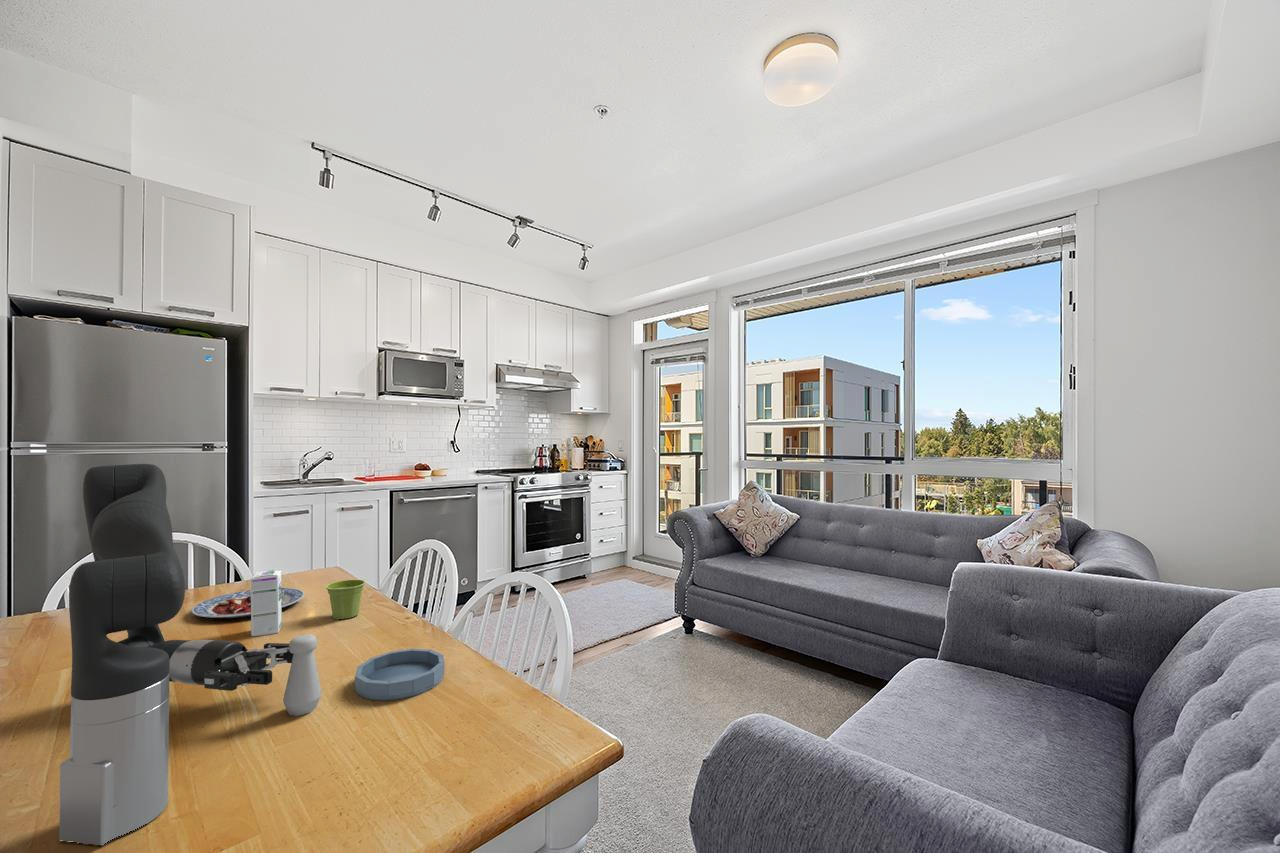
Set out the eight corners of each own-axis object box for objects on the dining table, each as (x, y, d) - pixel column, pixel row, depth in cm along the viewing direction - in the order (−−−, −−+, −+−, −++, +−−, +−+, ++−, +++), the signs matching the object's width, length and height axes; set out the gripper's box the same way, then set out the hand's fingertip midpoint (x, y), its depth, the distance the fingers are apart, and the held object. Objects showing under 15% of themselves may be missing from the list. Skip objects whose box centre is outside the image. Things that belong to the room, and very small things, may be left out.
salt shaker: (303, 720, 94) (303, 644, 94) (274, 716, 96) (275, 641, 96) (328, 703, 100) (329, 632, 100) (301, 700, 101) (302, 630, 101)
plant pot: (317, 620, 144) (317, 587, 144) (345, 609, 153) (346, 578, 153) (345, 623, 142) (345, 590, 142) (373, 612, 151) (373, 580, 151)
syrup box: (279, 633, 135) (279, 574, 135) (249, 637, 132) (250, 576, 132) (281, 626, 140) (282, 568, 140) (253, 629, 137) (254, 571, 137)
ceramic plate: (195, 632, 136) (195, 620, 136) (188, 607, 155) (188, 597, 155) (313, 609, 154) (313, 599, 154) (294, 590, 173) (294, 580, 173)
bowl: (417, 703, 100) (417, 685, 100) (336, 697, 102) (337, 680, 102) (457, 666, 116) (457, 651, 116) (386, 662, 118) (387, 647, 118)
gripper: (170, 657, 93) (257, 662, 91) (241, 627, 107) (317, 631, 105) (170, 702, 93) (257, 707, 91) (240, 666, 107) (317, 670, 105)
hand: (289, 666), depth 98 cm, fingers open, 8 cm apart
